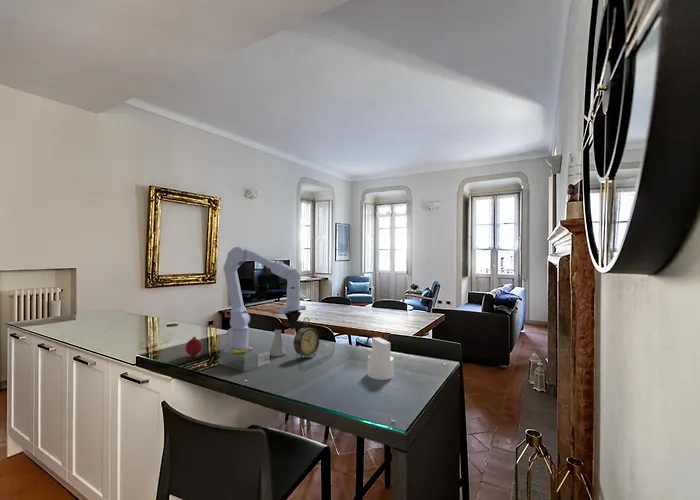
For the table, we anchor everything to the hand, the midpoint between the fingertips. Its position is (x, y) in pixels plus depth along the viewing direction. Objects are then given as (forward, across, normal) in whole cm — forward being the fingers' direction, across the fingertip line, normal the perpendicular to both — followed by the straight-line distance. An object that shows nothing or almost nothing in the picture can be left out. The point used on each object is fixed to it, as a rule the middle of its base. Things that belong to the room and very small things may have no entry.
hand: (292, 328), depth 147 cm
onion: (+10, -32, +23) cm, 40 cm away
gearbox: (+9, -24, 0) cm, 26 cm away
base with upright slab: (+10, -4, -46) cm, 47 cm away
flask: (+10, -8, 0) cm, 13 cm away
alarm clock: (+10, -4, -12) cm, 16 cm away
